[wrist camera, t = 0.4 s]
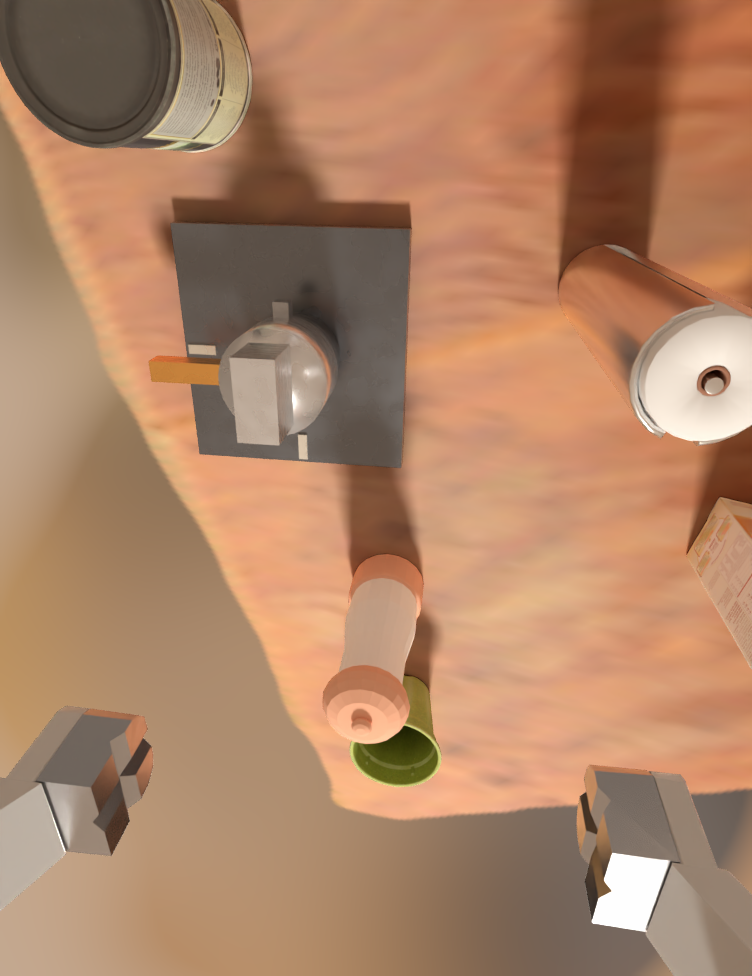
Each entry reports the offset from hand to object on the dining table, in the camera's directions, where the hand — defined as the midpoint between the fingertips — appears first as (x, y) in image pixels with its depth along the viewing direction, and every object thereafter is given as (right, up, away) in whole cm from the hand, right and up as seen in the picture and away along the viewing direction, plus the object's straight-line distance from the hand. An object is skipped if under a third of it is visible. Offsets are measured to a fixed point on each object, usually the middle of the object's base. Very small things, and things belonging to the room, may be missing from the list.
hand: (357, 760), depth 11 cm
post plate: (-6, +17, +42) cm, 46 cm away
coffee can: (-14, +35, +34) cm, 51 cm away
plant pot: (+3, -18, +59) cm, 62 cm away
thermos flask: (+18, +21, +37) cm, 46 cm away
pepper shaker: (+2, -5, +53) cm, 53 cm away
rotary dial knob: (-10, +15, +38) cm, 42 cm away
